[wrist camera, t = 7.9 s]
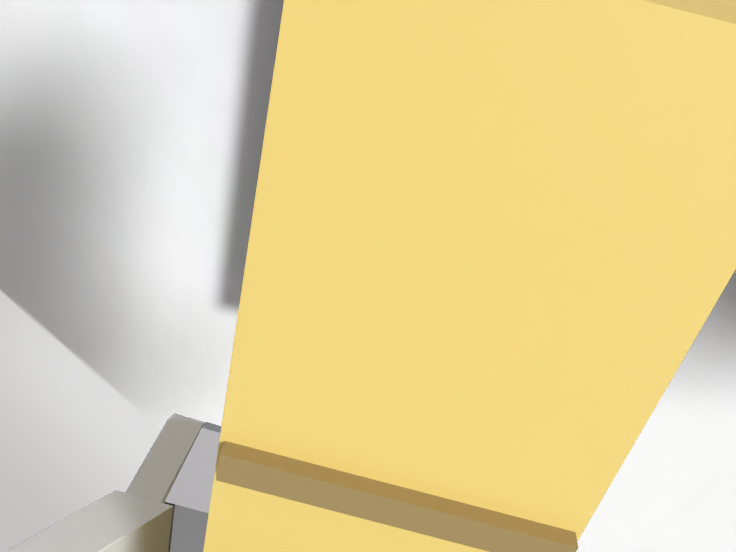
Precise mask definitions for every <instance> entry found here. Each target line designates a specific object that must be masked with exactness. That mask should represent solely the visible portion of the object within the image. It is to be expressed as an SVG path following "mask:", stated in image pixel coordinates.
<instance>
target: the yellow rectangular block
mask: <svg viewBox="0 0 736 552" xmlns="http://www.w3.org/2000/svg"><path fill="white" fill-rule="evenodd" d="M735 269H736V0H284V3H283V10H282V17H281V24H280V31H279V37H278V44H277V51H276V58H275V65H274V72H273V78H272V85H271V92H270V99H269V106H268V113H267V119H266V126H265V133H264V140H263V147H262V153H261V160H260V167H259V174H258V181H257V188H256V194H255V201H254V208H253V215H252V222H251V229H250V235H249V242H248V249H247V256H246V263H245V269H244V276H243V283H242V290H241V297H240V304H239V310H238V317H237V324H236V331H235V338H234V344H233V351H232V358H231V365H230V372H229V379H228V385H227V392H226V399H225V406H224V413H223V420H222V426H221V433H220V440H219V447H218V454H217V460H216V467H215V474H214V481H213V488H212V495H211V501H210V508H209V515H208V522H207V529H206V536H205V542H204V549H203V552H576V550H577V549H578V544H577V541H578V539H579V538H580V536H581V534H582V532H583V531H584V529H585V527H586V526H587V524H588V522H589V520H590V519H591V517H592V515H593V514H594V512H595V510H596V508H597V507H598V505H599V503H600V502H601V500H602V498H603V496H604V495H605V493H606V491H607V489H608V488H609V486H610V484H611V483H612V481H613V479H614V477H615V476H616V474H617V472H618V471H619V469H620V467H621V465H622V464H623V462H624V460H625V459H626V457H627V455H628V453H629V452H630V450H631V448H632V447H633V445H634V443H635V441H636V440H637V438H638V436H639V434H640V433H641V431H642V429H643V428H644V426H645V424H646V422H647V421H648V419H649V417H650V416H651V414H652V412H653V410H654V409H655V407H656V405H657V404H658V402H659V400H660V398H661V397H662V395H663V393H664V392H665V390H666V388H667V386H668V385H669V383H670V381H671V379H672V378H673V376H674V374H675V373H676V371H677V369H678V367H679V366H680V364H681V362H682V361H683V359H684V357H685V355H686V354H687V352H688V350H689V349H690V347H691V345H692V343H693V342H694V340H695V338H696V337H697V335H698V333H699V331H700V330H701V328H702V326H703V324H704V323H705V321H706V319H707V318H708V316H709V314H710V312H711V311H712V309H713V307H714V306H715V304H716V302H717V300H718V299H719V297H720V295H721V294H722V292H723V290H724V288H725V287H726V285H727V283H728V282H729V280H730V278H731V276H732V275H733V273H734V271H735Z"/></svg>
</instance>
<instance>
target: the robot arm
mask: <svg viewBox="0 0 736 552" xmlns="http://www.w3.org/2000/svg"><path fill="white" fill-rule="evenodd" d="M220 433H221V426H218V425H215V424H211V423H208V422H206V423H205V422H202V421H199V420H195V419H192V418H189V417H185V416H182V415H178V414H175V413H174V414H173V415H172V416H171V417H170V418H169V419H168V420H167V422H166V423H165V425H164V427H163V429H162V430H161V432H160V434H159V436H158V437H157V439H156V441H155V442H154V444H153V446H152V448H151V449H150V451H149V453H148V454H147V456H146V458H145V460H144V462H143V463H142V465H141V467H140V468H139V470H138V472H137V474H136V475H135V477H134V479H133V481H132V482H131V484H130V486H129V488H128V489H127V491H126V493H125V492H120V491H114V492H112V493H110V494H108V495H106V496H105V497H103V498H101V499H99V500H97V501H95V502H94V503H92V504H90V505H88V506H86V507H85V508H83V509H81V510H79V511H77V512H76V513H74V514H72V515H70V516H68V517H66V518H65V519H63V520H61V521H59V522H57V523H55V524H54V525H52V526H50V527H48V528H46V529H45V530H43V531H41V532H39V533H37V534H35V535H34V536H32V537H30V538H28V539H26V540H24V541H23V542H21V543H19V544H17V545H16V546H14V547H12V548H10V549H8V550H6V551H4V552H203V549H204V542H205V536H206V529H207V522H208V515H209V508H210V501H211V495H212V488H213V481H214V474H215V467H216V460H217V454H218V447H219V440H220Z"/></svg>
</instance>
